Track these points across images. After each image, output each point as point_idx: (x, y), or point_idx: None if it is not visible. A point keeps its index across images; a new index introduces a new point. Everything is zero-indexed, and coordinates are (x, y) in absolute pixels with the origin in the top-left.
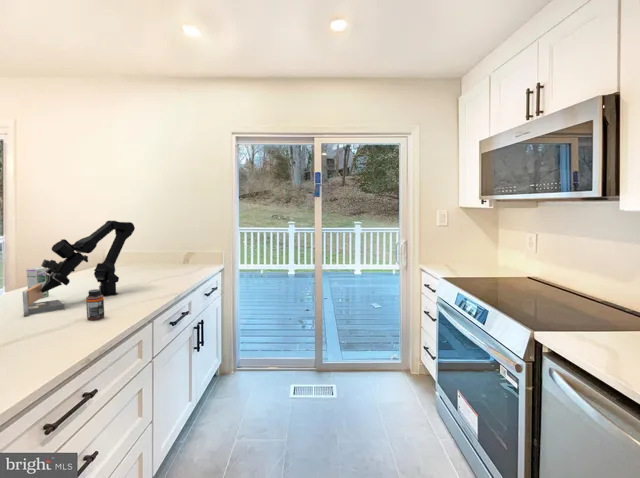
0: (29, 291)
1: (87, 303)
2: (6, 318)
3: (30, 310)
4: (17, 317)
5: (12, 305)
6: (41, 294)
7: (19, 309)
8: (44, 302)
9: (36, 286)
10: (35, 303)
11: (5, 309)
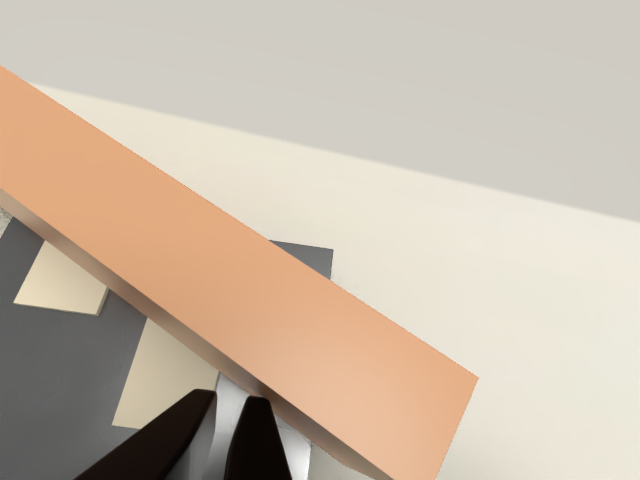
0: None
1: None
2: (112, 106)
3: (20, 221)
4: None
5: (568, 247)
6: (290, 422)
7: (351, 240)
8: None
9: (38, 202)
10: None
11: (438, 176)
